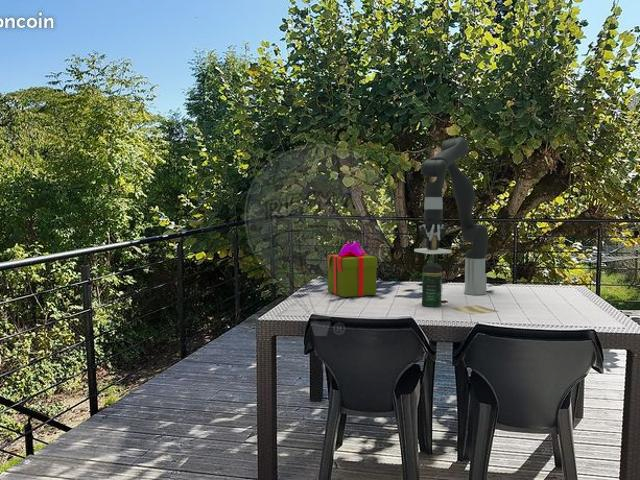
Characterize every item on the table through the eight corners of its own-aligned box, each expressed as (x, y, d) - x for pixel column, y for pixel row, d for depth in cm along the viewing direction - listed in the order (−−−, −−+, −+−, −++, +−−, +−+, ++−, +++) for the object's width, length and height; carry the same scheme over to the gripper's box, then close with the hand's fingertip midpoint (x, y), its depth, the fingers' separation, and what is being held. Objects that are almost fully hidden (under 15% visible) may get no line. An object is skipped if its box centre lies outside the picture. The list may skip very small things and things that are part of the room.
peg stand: (435, 250, 248) (435, 236, 247) (451, 252, 238) (451, 238, 238) (414, 251, 243) (414, 237, 243) (429, 254, 233) (429, 238, 233)
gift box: (321, 293, 276) (321, 241, 274) (354, 289, 288) (354, 239, 286) (348, 299, 259) (348, 244, 257) (382, 294, 272) (382, 242, 270)
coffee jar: (439, 309, 237) (440, 265, 235) (420, 308, 239) (420, 264, 238) (442, 305, 246) (443, 262, 244) (424, 304, 248) (424, 261, 247)
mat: (476, 307, 242) (476, 305, 242) (499, 313, 230) (499, 311, 230) (449, 309, 237) (449, 307, 237) (471, 316, 224) (471, 314, 224)
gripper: (441, 207, 246) (440, 247, 247) (414, 208, 240) (413, 249, 241) (452, 208, 239) (451, 249, 240) (424, 208, 233) (424, 250, 234)
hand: (432, 249), depth 241 cm, fingers closed on peg stand, 3 cm apart
